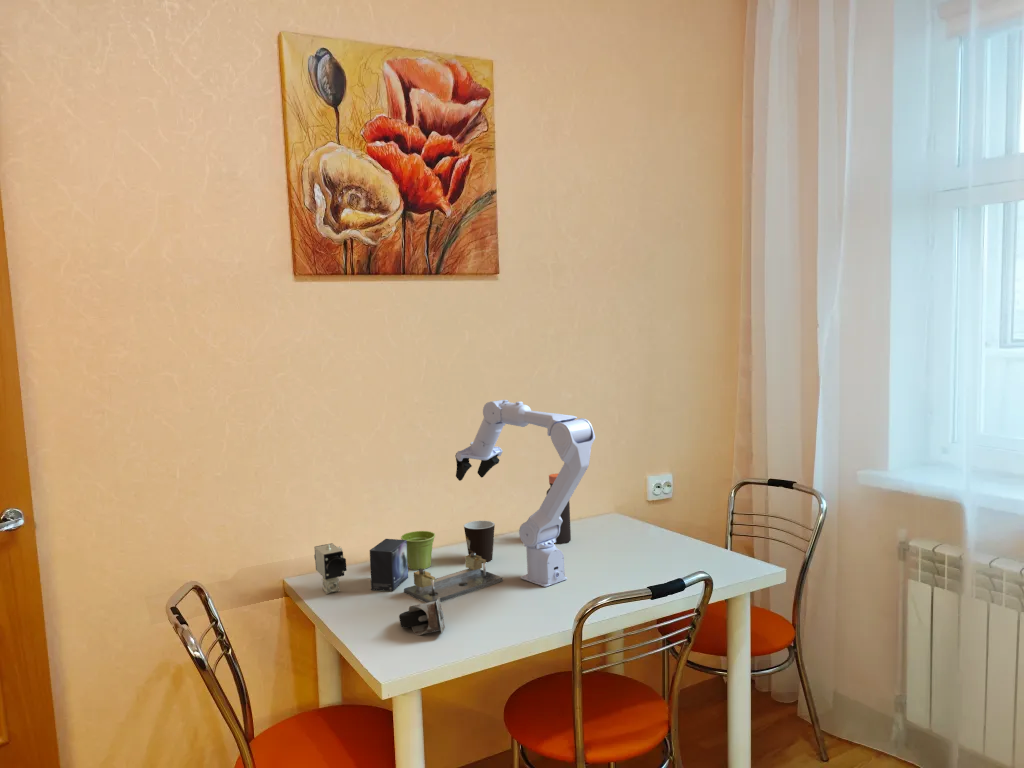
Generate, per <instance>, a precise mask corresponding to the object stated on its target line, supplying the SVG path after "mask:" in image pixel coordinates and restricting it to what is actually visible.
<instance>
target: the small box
mask: <svg viewBox="0 0 1024 768" xmlns="http://www.w3.org/2000/svg"><path fill="white" fill-rule="evenodd" d="M369 563H370V568H369V569H370V591H380V592H381V591H383V592H395V590H396V589H397V588H399V587H400V586H401V585H402V584H403V583H404V582H405V581H406V580H408V579H409V567H408V561H407V540H402V539H397V538H385V539H384V540H382V541H381V542H380V543H378V544H377V545H375V546H374V547H372V548H371V549H370V550H369Z"/></svg>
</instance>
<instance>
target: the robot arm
mask: <svg viewBox="0 0 1024 768" xmlns="http://www.w3.org/2000/svg"><path fill="white" fill-rule="evenodd" d="M482 416H483V419H482V421H481V424H480V426H479V428H478V430H477V433H476V435H475V438H474V440H473V441H471V442H470V444H469V445H470V446H467V447H465V448H464V449H462V450H458V451H457V452H456V453H455V462H456V471H455V477H456V479H457V480H458V481H460V482H462V480H463V479H464V478H465V475H466V473H467V472H468V471H469V470H470V468H472V467H473V465H472V464H471V463H470V460H477V461H478V460H480V464H479V467H478V468H477V474H478V475H479V477H480V478H484V477H485V476H486V474H487V473H488V472H489V471H490V470H491V469H492V468H494V467H495V466H496V465H497V464H499V463H500V459H499V457H501V455H502V453H503V452H504V451H503V449H502V448H501V447H500V446H496V444H497V442H498V440H499V437H500V435H501V433H502V430H503V428H504V426H506V425H511V426H515V427H520V428H521V427H522V428H525V427H527V426H528V425H529V424H530V425H533V426H536V427H541V428H546V429H547V431H546V432H547V436H548V437H550V441H551V442H552V445H553V447H554V448H555V450H556V452H557V454H558V456H559V458H560V459H561V461H562V462H563V465H562V467H561V468H560V471H559V472H558V473H559V474H558V473H557V474H558V476H557V478H556V479H555V481H554V483H553V485H552V487H551V488H550V487H549V488H550V490H549V492H548V494H546V496H545V497H544V499H543V501H542V503H541V505H540V507H539V508H538V509H537V510H536V511H535V512H534V513H532V514H531V515H530V516H529V517H528V518H527V520H526V521H525V522H523V523H522V524H521V525H520V527H519V529H518V535H519V538H520V541H521V543H523V546H524V547H525V548H526V567H527V568H526V569H527V574H523V575H521V576H520V577H519V578H520V579H521V580H524V581H527V582H530V583H533V584H535V585H537V586H542V587H545V588H546V587H549V586H551V585H555V584H557V583H560V582H563V581H566V580H568V577H567V576H565V574H566V573H565V556H564V553H563V551H562V550H561V549H559V548H558V547H557V546H556V545H555V544H554V543H555V542H556V538H557V537H558V536H559V533H560V526H561V524H562V522H563V520H562V518H561V517H560V515H561V513H562V512H563V510H564V508H565V506H566V505H567V503H568V501H569V502H570V499H571V497H572V496H573V494H574V493H575V490H576V489H577V487H578V485H579V484H580V482H581V480H582V479H583V477H584V475H585V473H586V472H587V470H588V468H589V465H590V459H591V453H592V452H591V450H592V446H593V444H594V441H595V440H596V434H595V431H594V428H593V425H592V423H591V422H590V421H589V420H588V419H587V418H582V417H581V418H578V416H575V415H570V414H562V413H555V412H554V413H553V412H545V411H537V410H532V408H531V407H530V406H529V405H527V404H524V402H523V401H516V402H511V401H509V400H508V399H500V400H494V401H493V400H492V401H488V402H486V403H485V404H484V405H483V409H482Z"/></svg>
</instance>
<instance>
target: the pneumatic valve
mask: <svg viewBox="0 0 1024 768" xmlns="http://www.w3.org/2000/svg"><path fill="white" fill-rule="evenodd" d="M313 556H314V561H315V571H317V573H318V574H319V575H320V576H322V577H321V581H322V585H323V587H322V591H324V592H325V594H328V593H329V594H330V593H335V592H337V591H338V592H339V591H340V590H341V589H340V584H339V582H340V579H339V578H340V577H344V576H345V572H347V570H348V569H347V559H346V558H345V557H344V551H343V548H342V547H341V546H336V545H335V544H334V543H328V544H321V545H316V546H314V555H313ZM329 594H328V595H329Z"/></svg>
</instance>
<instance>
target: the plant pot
mask: <svg viewBox="0 0 1024 768" xmlns="http://www.w3.org/2000/svg"><path fill="white" fill-rule="evenodd" d="M435 538H436V533H435V532H433V531H428V530H415V531H410V532H409V531H408V532H406V533H404V534H402V535H401V536H400V540H407V561H408V569H410V570H414V569H415V571H417V570H418V571H419V569H425V570H426V569H428V568H430V567H431V564H432V556H433V555H432V553H433V545H434V544H433V543H434V540H435Z"/></svg>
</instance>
